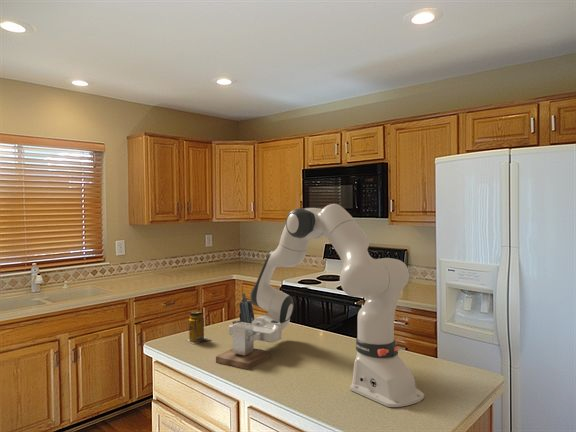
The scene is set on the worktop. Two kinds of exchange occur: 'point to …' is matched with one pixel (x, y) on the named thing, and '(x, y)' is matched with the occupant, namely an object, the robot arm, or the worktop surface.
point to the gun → (245, 311)
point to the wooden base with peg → (243, 358)
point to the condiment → (196, 328)
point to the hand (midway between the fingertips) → (241, 337)
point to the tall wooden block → (242, 338)
